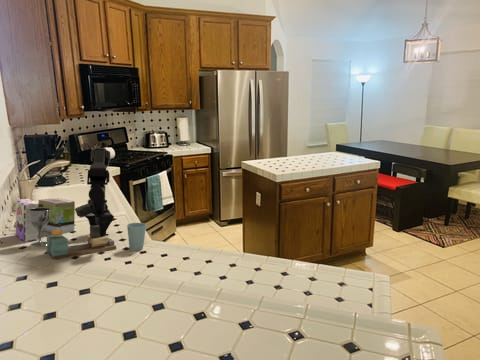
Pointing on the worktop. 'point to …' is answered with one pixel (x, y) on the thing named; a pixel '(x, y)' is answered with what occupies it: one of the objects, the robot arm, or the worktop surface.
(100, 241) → the carriage
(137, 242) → the cup
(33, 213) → the wine glass
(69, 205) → the tea box
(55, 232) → the button
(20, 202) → the candy box
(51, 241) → the rail
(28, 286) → the worktop surface
